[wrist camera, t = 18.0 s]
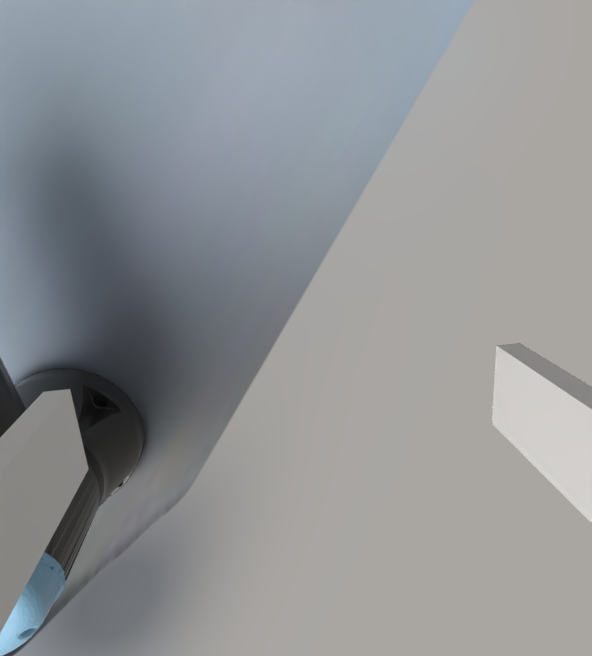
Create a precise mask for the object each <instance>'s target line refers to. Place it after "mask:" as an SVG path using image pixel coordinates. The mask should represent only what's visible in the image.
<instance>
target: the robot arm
mask: <svg viewBox="0 0 592 656" xmlns="http://www.w3.org/2000/svg"><path fill="white" fill-rule="evenodd" d="M492 414H493V415H492V424H493V425H494V426H495V427H496V428H497V429H498V430H499V431H500V432H501V433H502V434H503V435H504V436H505V437H506V438H507V439H508V440H509V441H510V442H511V443H512V444H513V445H514V446H515V447H516V448H517V449H518V450H519V451H520V452H521V453H522V454H523V455H524V456H525V457H526V458H527V459H528V460H529V461H530V462H531V463H532V464H533V465H534V466H535V467H536V468H537V469H538V470H539V471H540V472H541V473H542V474H543V475H544V476H545V477H546V478H547V479H548V480H549V481H550V482H551V483H552V484H553V485H554V486H555V487H556V488H557V489H558V490H559V491H560V492H561V493H562V494H563V495H564V496H565V497H566V498H567V499H568V500H569V501H570V502H571V503H572V504H573V505H574V506H575V507H576V508H577V509H578V510H579V511H580V512H581V513H582V514H583V515H584V516H585V517H586V518H587V519H588V520H589V521H590V522H591V523H592V387H591V386H590V385H588V384H586V383H585V382H583V381H581V380H580V379H578V378H576V377H575V376H573V375H571V374H570V373H568V372H566V371H565V370H563V369H561V368H560V367H558V366H557V365H555V364H553V363H552V362H550V361H548V360H547V359H545V358H543V357H542V356H540V355H538V354H537V353H535V352H533V351H532V350H530V349H529V348H527V347H525V346H524V345H522V344H520V343H517V344H508V345H497V347H496V363H495V381H494V397H493V413H492ZM143 442H144V432H143V426H142V422H141V419H140V416H139V414H138V412H137V410H136V408H135V406H134V405H133V403H132V402H131V400H130V399H129V398H128V397H127V396H126V395H125V394H124V393H123V392H122V391H121V390H120V389H119V388H118V387H116V386H115V385H114V384H112V383H111V382H109V381H107V380H106V379H104V378H102V377H99V376H97V375H95V374H92V373H89V372H85V371H81V370H74V369H53V370H47V371H43V372H39V373H36V374H34V375H31V376H29V377H27V378H25V379H24V380H22V381H20V382H19V383H18V384H16V385H15V386H14V384H13V382H12V380H11V378H10V376H9V374H8V372H7V369H6V367H5V365H4V363H3V361H2V359H1V357H0V656H2V655H5V654H7V653H9V652H11V651H12V650H14V649H16V648H17V647H19V646H20V645H22V644H23V643H25V642H26V641H27V640H28V639H29V638H30V637H31V636H32V635H33V634H34V633H35V632H36V631H37V630H38V628H39V627H40V626H41V624H42V623H43V621H44V619H45V617H46V616H47V614H48V612H49V610H50V608H51V606H52V604H53V603H54V601H55V600H56V599H57V598H58V597H59V595H60V594H61V592H62V591H63V589H64V586H65V582H66V580H67V577H68V575H69V573H70V570H71V568H72V566H73V564H74V561H75V559H76V557H77V555H78V552H79V550H80V548H81V546H82V543H83V541H84V539H85V536H86V534H87V532H88V530H89V527H90V525H91V523H92V521H93V518H94V516H95V514H96V511H97V509H98V507H99V506H100V505H101V504H103V503H104V502H105V501H106V499H107V498H108V497H110V496H112V495H113V494H114V493H116V492H117V491H118V490H119V489H120V488H121V487H122V486H123V485H124V484H125V483H126V482H127V481H128V479H129V478H130V477H131V475H132V473H133V472H134V470H135V468H136V465H137V463H138V460H139V458H140V455H141V452H142V448H143Z"/></svg>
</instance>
